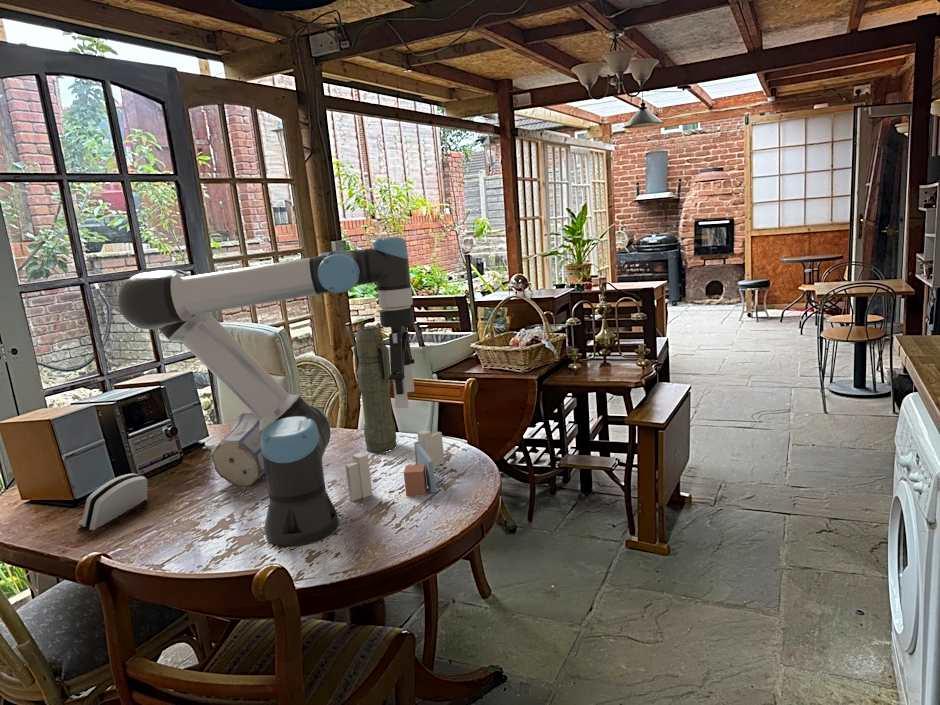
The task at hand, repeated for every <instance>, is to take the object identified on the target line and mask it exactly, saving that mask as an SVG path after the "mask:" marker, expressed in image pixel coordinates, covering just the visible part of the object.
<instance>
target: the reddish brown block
mask: <svg viewBox="0 0 940 705" xmlns="http://www.w3.org/2000/svg"><path fill="white" fill-rule="evenodd" d="M403 480H404V486H405V496H412V497H417V496H416V495H427V491H426V490H427V489H428V486H427V483H426V473H425V464H422V465H416V464H409V465H405V467H404V471H403Z"/></svg>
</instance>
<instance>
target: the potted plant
mask: <svg viewBox="0 0 940 705" xmlns="http://www.w3.org/2000/svg"><path fill="white" fill-rule="evenodd" d="M229 426H230V427H229V434H228V435H227V436H225V437H224V438H223V439H222V440H221V441H220V442H219V443H218V444H217V446H216V447H215V449H214V450H213V452H212V454H211V459H212V463H213V466H214V471H215V472H216V473H217V474H218V475H219V476H220V478H221V479H222V478H223V479H224V480H225V481H226V482H228V483H230V484H232V485H234V486H236V487H249V486H252V485H253V484H254V483H255V482H256V481H258V480H259V479H260V478H261V477H262V476H263V475H265V468H264V461H263V455H262V452H261V447H260V444H261V433H262V432H261V431H260V421H259V419H258V418H257V417H256V416H255V415H254V414H253V413H252V412H251V411H243V412H241V413H240V414H239V415H238V416H237V417H236V418H235V419H234V421H232V423H231V425H229Z"/></svg>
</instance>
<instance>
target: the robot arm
mask: <svg viewBox="0 0 940 705" xmlns="http://www.w3.org/2000/svg"><path fill="white" fill-rule="evenodd" d="M406 242H407V241H406V240H405V239H404V238H403V237H401V236H400V237H398V236H395V237H394V236H393V237H385V238H375V239H373V240H372V242H371V247H370V248H366V249H365V248H364V249H352V250H338V251H337V250H335V251H332V250H331V251H328V252H321V253H320V254H319V255H318V256H313V257H307V258H306V257H305V258H300V259H299V258H298V259H291V260H287V261H280V262H274V263H268V264H267V263H265V264H260V265H254V266H248V267H241V268H235V269H234V268H233V269H230V270H229V269H228V270H223V271H216V272H210V273H203V274H202V273H201V274H196V275H191V274H189V273H188V272H185V271H183V270H181V269H177V268H176V269H175V268H167V267H166V268H164V267H163V268H159V269H155V270H153V271H147V272H141V273H138V274H134V275H133V276H131V277H129V278H128V279H126V281H125V282H124V283H123V285H121V288H119V289H120V290H119V291H118V295H117V305H118V308H119V311H120V313H121V315H122V317H124V319H125V320H126V321H127V322H128V323H130V324H131V325H133V327H134V326H135V327H137V328H138V329H142V330H152V331H153V330H158V331H160V333H161V334H162V335H164V337H165V338H166V339H167V340H168V341H169V342H179V343H182V344H183V345H184V346H185V347H186V349H188V350H189V351H190V352H191V353H192V354H193V355H194V356H195V357H196V358H197V359H198V360H199V361H200V362H201V363H202V364H203V365H204V367H206V368H207V370H209V372H211V373H212V375H214V377H216V379H218V380H219V381H220V383H221V384H222V385H224V386H225V388H226V389H228V390H229V391H230V392H231V393H232V395H233V396H235V398H237V400H238V401H240V402H241V403H242V404H243V405H244V407H246V408H247V409H248V411H249V412H252V413H253V414H254V415H255V416H256V417H257V418H258V419H259V421H260V431H261V432H262V433H261V444H260V447H261V452H262V455H263V461H264V468H265V473H264V475H265V479H266V480H265V481H266V486H267V493H268V498H269V500H268V508H267V513H266V518H265V522H264V523H265V524H264V530H265V531H264V532H265V538H266V540H267V541H268V542H269V543H271V544H273V545H276V546H280V547H281V546H282V547H295V546H303V545H307V544H312V543H314V542H317V541H319V540H322V539H324V538H327V537H328V536H330V535H331V534H332V533H334V532H335V531H336V530H337V528H338V527H339V516H338V512H337V509H336V508H335V505H334V503H333V502H332V500H331V498H330V496H329V494H328V492H327V489H326V481H325V475H324V467H323V457H324V454H325V451H326V449H327V447H328V446H329V444H330V441H331V424H330V422H329V419H328V417H327V415H326V414H325V413H324V411H322V410H321V409H320V408H319V407H317V406H314V405H311V404H308V403H307V401H305V400H304V399H303V397H301V396H300V395H299V394H291V393H289V392H287V391H286V390H285V389H284V388H283V387H282V386H281V385H280V384H279V382H277V381H276V380H275V378H274V377H272V375H271V374H270V373H269V372H268V371H267V370H266V369H265V368H264V367H263V366H262V365H261V363H259V362H258V361H257V360H256V359H255V358H254V357H253V356H252V355H251V354H250V353H249V352H248V351H247V350H246V349H245V348H244V346H242V345H241V344H240V343H239V342H238V341H237V340H236V338H235V337H234V336H233V335H231V333H230V332H229V331H228V330H227V329H226V328H225V327H224V326H223V325H222V324H221V323H220V322H219V321H218V320H217V319H216V318H215V317H214V316H213V313H214V312H219V311H225V310H226V311H227V310H231V309H238V308H243V307H248V306H254V305H263V304H268V303H274V302H280V301H287V300H292V299H293V300H294V299H300V298H305V297H306V298H307V297H311V296H317V295H326V294H330V293H331V294H332V293H334V294H341V293H347V292H349V291H350V290H351V289H353V288H354V287H355V286H356V285H362V284H372V283H375V285H376V290H377V293H376V294H375V296H374V297H375V298H376V299H378V307H379V308H380V311H379V320H380V326H381V327H383V328H391V332H390V333H389V334H388V340H389V362H390V373H391V376H389V380H390V381H392V385H393V387H392V388H393V394H394V404H395V409H396V410H397V409H406V408H407V409H408V408H409V400H408V398H409V397H408V393H413V392H415V386H414V385H415V383H414V376H413V375H414V374H413V364H415V359H414V358H413V356H412V350H411V344H410V338H409V330H408V326H410V325H411V326H412V325H413V324H414V323H415V316H414V315H415V314H414V308H413V307H412V305H413V302H414V301H413V290H412V285H411V274H410V260H409V254H408V247H407V243H406Z"/></svg>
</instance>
